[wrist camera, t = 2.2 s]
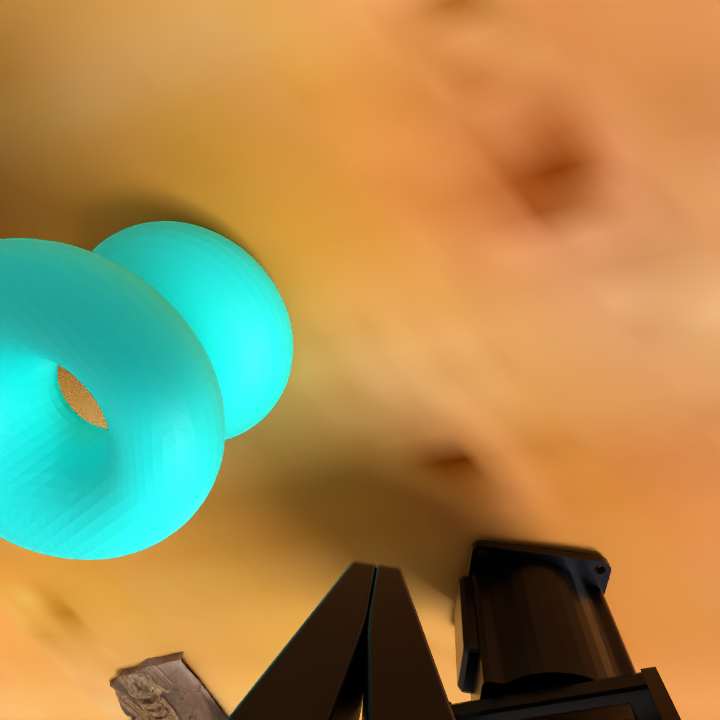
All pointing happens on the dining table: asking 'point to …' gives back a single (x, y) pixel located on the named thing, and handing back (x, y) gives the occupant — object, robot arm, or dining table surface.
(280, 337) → the donuts
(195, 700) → the wooden fragment
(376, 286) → the dining table surface
